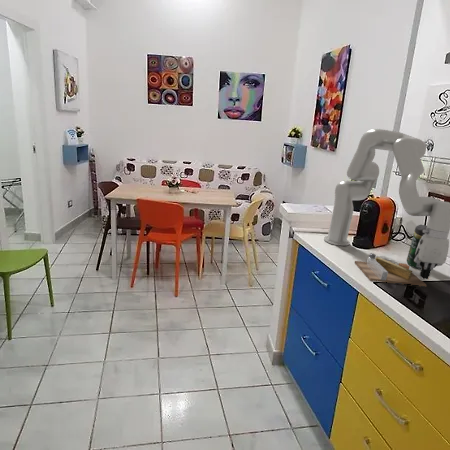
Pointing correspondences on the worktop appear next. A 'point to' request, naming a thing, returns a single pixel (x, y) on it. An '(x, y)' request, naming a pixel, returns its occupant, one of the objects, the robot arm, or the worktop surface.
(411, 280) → the board
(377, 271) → the tongs base
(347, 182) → the robot arm
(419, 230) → the coffee jar
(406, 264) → the lock tab
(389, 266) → the tong jaw
